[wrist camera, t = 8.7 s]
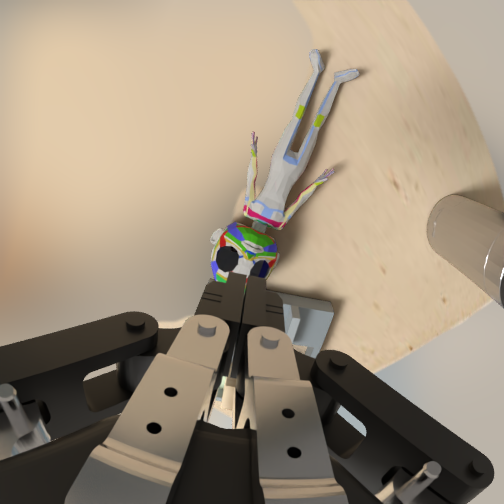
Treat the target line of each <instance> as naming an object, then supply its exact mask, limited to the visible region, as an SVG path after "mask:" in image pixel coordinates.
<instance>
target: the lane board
mask: <svg viewBox="0 0 504 504" xmlns="http://www.w3.org/2000/svg"><path fill="white" fill-rule="evenodd" d="M212 281H215V279H210V280H209V282H208V284H209V283H210V282H212ZM266 291H269V290H266ZM270 292H274V291H270ZM275 293H277V294H278V295H279V296H280V297H281V299H282V300H283V310H284V322H285V334H287V335H288V336H289V337H290V339H291V341H292V344H295V345H301V346H308V347H307V349H306V352H305V355H307V356H310V357H313V358H316V356H317V354H318V353H319V352H320V349H321V347H322V344H323V342H324V339H325V337H326V334H327V331H328V329H329V326H330V324H331V321H332V318H333V316H334V310H333V308H332V305H331V302H327V301H322V300H316V299H311V298H306V297H300V296H295V295H290V294H284V293H279V292H275ZM234 348H235V347H234ZM233 355H234V352H233ZM232 361H233V357H232ZM232 361H231V363H232ZM225 380H226V377H224V376H223V378H222V382H221V385H220V387H219V388H218V392H217V396H216V399H215V400H217V401H222V395H223V389H224V384H225Z"/></svg>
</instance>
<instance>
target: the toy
mask: <svg viewBox="0 0 504 504" xmlns="http://www.w3.org/2000/svg"><path fill="white" fill-rule="evenodd" d="M310 61H311V64H312V67H313V69H314V72H313V74H312V76H311V77H310V79H309V81H308V82H307V84H306V86H305V87H304V89H303V91H302V93H301V94H300V96H299V98H298V100H297V104H296V107H295V110H294V114H293V118H292V120H291V121H290V123H289V124H288V125H287V127H286V128H285V130H284V132H283V134H282V136H281V138H280V140H279V142H278V145H277V146H276V149H275V151H274V153H273V155H272V159H271V165H270V171H269V176H268V179H267V181H266V184H265V186H264V188H263V190H262V191H261V193H260V194H259V196H258V197H257V198H256V199H255V181H256V177H257V139H258V137H256V141H254V137H255V136H254V135H255V132H254V131H253V133H252V144H251V151H252V152H251V153H252V157H251V161H250V164H249V168H248V173H247V189H246V196H245V203H244V209H243V214H244V215H245V216H246V217H248V218H250V219H252V220H254V222H253V224H252V227H247V226H245V225H243V224H240V223H237V222H234V223H232V224H230V225H228V226H227V227H226V228H225V229H224V230H223V229H222V228H219V229H217V230H216V231H214V232H213V234H212V237H211V239H210V240H211V243H213V244H215V243H216V244H215V246H214V248H213V250H212V255H211V267H212V271H213V274H214V278H215V281H219V282H224V283H226V281H227V277H228V274H229V271H230V272H235V273H240V274H245V275H247V278H246V284H247V279H248V275H250V276H255V277H260V278H265V279H266V280H267V278H268V277H269V275H270V273H271V271H272V269H274V268H275V267H276V265H277V263H278V260H279V256H280V254H279V252H278V253H277V246H276V242H275V239H274V238H272V237H270V236H268V235H266V234H265V231H266V228H267V227H271V228H273V229H275V230H282V229H283V228H284V226H285V225H286V224H287V222H288V221H289V220H290V218H291V217H292V216H293V215H294V213H295V212H296V211H297V210H298V208H299V207H300V206H301V205H302V204H303V203H304V202H305V201H306V200H307V199H308V198H309V197H310V196H311V195H312V193H313V192H314V190H315V189H316V187H317V186H318V185H320V184H322V183H324V182H325V181H326V180H328V177H329V176H330V175H331V174H333V173H334V172H335V171H333V170H334V168H333V169H331V170H330V171H329V172H328V173H327V174H326V175H325V173H326V171H327V170H328V169H326V170H325V171H324V173H323V174H322V175H321V176H320V177H319V178H318V179H317V180H316V181H315V182H314V183H313V184H311V185H310V186H308V187H307V188H306V189H305V190H303V191H302V192H301V193H300V195H299V196H298V197H297V199H296V200H295V201H294V202H293V203H292V204H291V205H290V206H288V207H287V208H286V209H285V210H284V207H285V203H286V199H287V196H288V194H289V192H290V190H291V188H292V186H293V185H294V184H295V182H296V181H297V180H298V178H299V177H300V176H301V175H302V173H303V172H304V171H305V168H306V166H307V164H308V161H309V159H310V156H311V154H312V151H313V149H314V146H315V144H316V140H317V135H318V131H319V130H320V128H321V127H322V125H323V124H324V122H325V120H326V118H327V116H328V114H329V112H330V109H331V106H332V103H333V100H334V98H335V95H336V93H337V90H338V88H339V85H340V83H343V82H346V81H350V80H352V79H354V78H356V77H357V76H358V75H359V71H358V70H357V69H349V70H345V71H340V72H335V73H334V82H333V84H332V86H331V88H330V89H329V91H328V93H327V94H326V96H325V98H324V100H323V102H322V104H321V106H320V108H319V110H318V112H317V114H316V117H315V119H314V121H313V123H312V125H311V128H310V130H309V131H308V133H307V135H306V137H305V139H304V141H303V143H302V145H301V148H300V150H299V152H298V153H296V152H293V151H292V150H291V149H290V148H291V146H292V143H293V141H294V138H295V136H296V133H297V131H298V128H299V125H300V122H301V120H302V118H303V115H304V113H305V111H306V108H307V105H308V103H309V100H310V97H311V95H312V92H313V89H314V87H315V84H316V82H317V79H318V76H319V74H320V73H321V72H322V71H323V70H324V69H325V67H324V64H323V61H322V58H321V54H320V53H319V51H318V50H317V49H312V50H310ZM231 246H233V247H234V248H235V249H236V250H237V252H238V253H236V252H231ZM245 288H246V285H245ZM244 293H245V291H244Z"/></svg>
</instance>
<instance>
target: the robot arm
mask: <svg viewBox="0 0 504 504" xmlns="http://www.w3.org/2000/svg"><path fill="white" fill-rule="evenodd" d="M427 235H428V240H429V243H430V245H431V247H432V249H433V250H434V251H435V252H436V253H438V254H439V255H440V256H441V257H443V258H444V259H445V260H447V261H448V262H449V263H450V264H451V265H453V266H454V267H455V268H457V269H458V270H459V271H460V272H461V273H463V274H464V275H465V276H466V277H468V278H469V279H470V280H471V281H472V282H474V283H475V284H476V285H477V286H478V287H480V288H481V289H482V290H483V291H484V292H485V293H487V294H488V295H489V296H490V297H491V298H492V299H494V300H495V301H496V302H497V303H498V304H499V305H501V306H502V307H503V308H504V213H503V212H500V211H498V210H496V209H493V208H491V207H488V206H486V205H483V204H481V203H478V202H476V201H473V200H471V199H468V198H465V197H463V196H460V195H449V196H447V197H444V198H443V199H442V200H440V201H439V202H438V203H437V204H436V205H435V207H434V208H433V210H432V212H431V214H430V217H429V220H428V224H427ZM246 278H247V275H245V274H240V273H235V272H230V271H229V274H228V277H227V281H226V283H224V282H219V281H212V282H210V283H209V284H207V285H206V287H205V290H204V293H203V295H202V297H201V300H200V302H199V305H198V307H197V310H196V312H195V315H194V316H192V317H190V318H188V319H187V320H186V321H185V323H184V325H183V326H182V327H181V328H175V329H162V328H158V322H157V321H156V320H155V318H153V317H152V316H150V315H148V314H146V313H142V312H126V313H122V314H118V315H115V316H111V317H108V318H104V319H101V320H97V321H94V322H91V323H86V324H83V325H79V326H76V327H72V328H69V329H65V330H61V331H58V332H54V333H50V334H46V335H43V336H39V337H35V338H32V339H28V340H24V341H20V342H16V343H13V344H9V345H5V346H1V347H0V504H467V503H468V502H470V501H471V500H472V499H473V498H475V497H476V496H477V495H478V494H479V493H481V492H482V491H483V490H484V489H485V488H487V487H488V486H489V485H490V484H491V483H492V481H493V478H494V468H493V465H492V463H491V461H490V460H489V459H488V458H487V457H486V456H485V455H484V454H482V453H481V452H480V451H478V450H477V449H475V448H474V447H473V446H471V445H470V444H468V443H467V442H465V441H464V440H463V439H461V438H460V437H458V436H457V435H456V434H454V433H453V432H451V431H450V430H449V429H447V428H446V427H444V426H443V425H441V424H440V423H439V422H438V421H436V420H435V419H433V418H432V417H431V416H429V415H428V414H427V413H425V412H424V411H423V410H421V409H420V408H418V407H417V406H416V405H414V404H413V403H412V402H410V401H409V400H408V399H406V398H405V397H403V396H402V395H401V394H399V393H398V392H397V391H395V390H394V389H393V388H391V387H390V386H389V385H387V384H386V383H385V382H383V381H382V380H381V379H379V378H378V377H377V376H375V375H374V374H373V373H371V372H370V371H369V370H367V369H366V368H365V367H363V366H362V365H361V364H359V363H358V362H357V361H355V360H354V359H353V358H352V357H350V356H349V355H347V354H345V353H343V352H340V351H336V350H324V351H321V352H320V353H318V354H317V356H316V358H313V357H310V356H307V355H304V354H302V353H300V352H298V351H296V350H295V349H293V345H292V341H291V339H290V337H289V336H288V335H287V334H285V322H284V310H283V300H282V299H281V297H280V296H279V295H278V294H277V293H275V292H270V291H266V279H265V278H260V277H255V276H250V275H248V279H247V284H246ZM245 285H246V288H245ZM244 291H245V293H244ZM234 347H235V348H234ZM233 352H234V355H233ZM232 357H233V361H232ZM231 361H232V368H231V374H230V378H235V379H236V385H235V389H234V393H233V416H232V429H224V428H220V427H218V426H215V425H213V424H210V423H208V422H209V419H210V416H211V412H212V409H213V406H214V403H215V399H216V396H217V392H218V388H219V387H220V385H221V382H222V378H223V376H224V377H228V375H229V371H230V366H231ZM115 363H116V368H117V369H116V370H113V371H111V372H108V373H105V374H103V375H100V376H97V377H94V378H92V379H89V380H86V381H83V380H84V378H85V376H86V375H88V374H89V373H90V372H93V371H96V370H98V369H101V368H104V367H107V366H110V365H112V364H115ZM341 405H342V406H343V407H344V408H345V409H346V410H347V411H349V412H350V413H351V414H352V415H353V416H355V417H356V418H357V419H358V420H359V421H361V422H362V423H363V424H364V426H365V428H366V432H367V433H366V437H365V436H364V435H362V434H361V433H360V432H359V431H358V430H357V429H355V428H354V427H353V426H352V425H351V424H350V423H348V422H347V421H346V420H345V419H344V418H343V417H341V416H340V415H339V414H338V413H337V411H338V409H339V408H340V406H341ZM120 413H121V414H120ZM118 414H120V415H118ZM55 439H56V440H55ZM52 440H53V441H52ZM50 441H51V442H50Z"/></svg>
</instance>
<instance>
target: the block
mask: <svg viewBox="0 0 504 504" xmlns="http://www.w3.org/2000/svg"><path fill="white" fill-rule="evenodd" d="M231 368H232V363H231V366H230V371H229V375H228V377H226V380H225V384H224V389H223V395H222V401H221V407H220V408H221V409H227V410H232V411H233V393H234V389H235V385H236V379H235V378H230V374H231Z"/></svg>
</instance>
